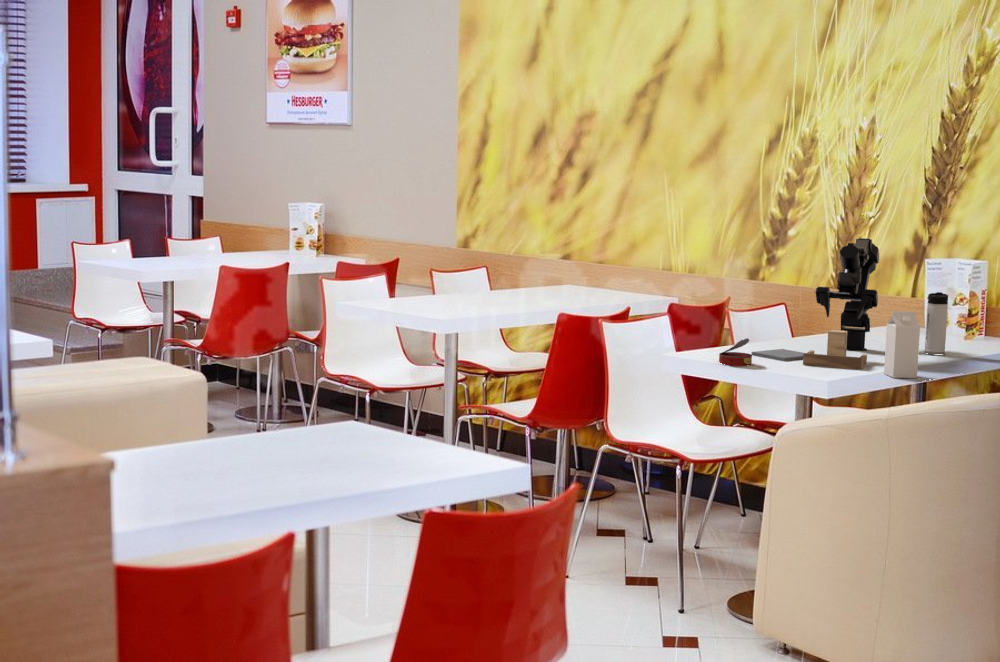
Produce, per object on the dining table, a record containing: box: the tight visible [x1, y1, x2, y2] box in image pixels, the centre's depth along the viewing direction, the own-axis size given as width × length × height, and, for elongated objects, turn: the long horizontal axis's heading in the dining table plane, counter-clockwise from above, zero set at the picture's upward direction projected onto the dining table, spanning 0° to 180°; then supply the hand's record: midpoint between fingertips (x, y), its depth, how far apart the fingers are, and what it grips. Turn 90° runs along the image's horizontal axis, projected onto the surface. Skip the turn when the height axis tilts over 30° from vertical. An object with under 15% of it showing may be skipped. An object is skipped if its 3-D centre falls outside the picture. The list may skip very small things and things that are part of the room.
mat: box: [751, 348, 805, 362], centre depth 407 cm, size 14×14×1 cm
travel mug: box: [924, 291, 949, 355], centre depth 417 cm, size 6×7×20 cm
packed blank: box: [826, 329, 847, 356], centre depth 394 cm, size 5×5×10 cm
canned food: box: [718, 337, 753, 367], centre depth 391 cm, size 11×10×10 cm
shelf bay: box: [802, 349, 868, 370], centre depth 393 cm, size 12×17×4 cm
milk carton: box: [883, 310, 921, 379], centre depth 372 cm, size 7×7×19 cm
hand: (842, 317), depth 400 cm, fingers open, 9 cm apart
